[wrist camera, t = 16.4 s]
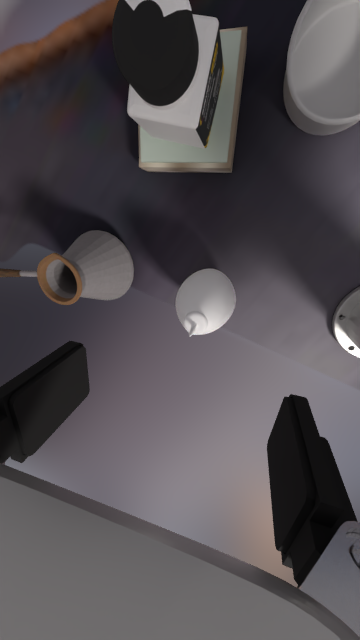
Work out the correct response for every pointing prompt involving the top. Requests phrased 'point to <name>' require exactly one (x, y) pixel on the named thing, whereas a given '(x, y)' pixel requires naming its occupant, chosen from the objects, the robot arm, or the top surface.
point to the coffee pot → (84, 270)
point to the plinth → (224, 127)
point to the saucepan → (324, 67)
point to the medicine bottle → (169, 67)
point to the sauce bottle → (205, 301)
